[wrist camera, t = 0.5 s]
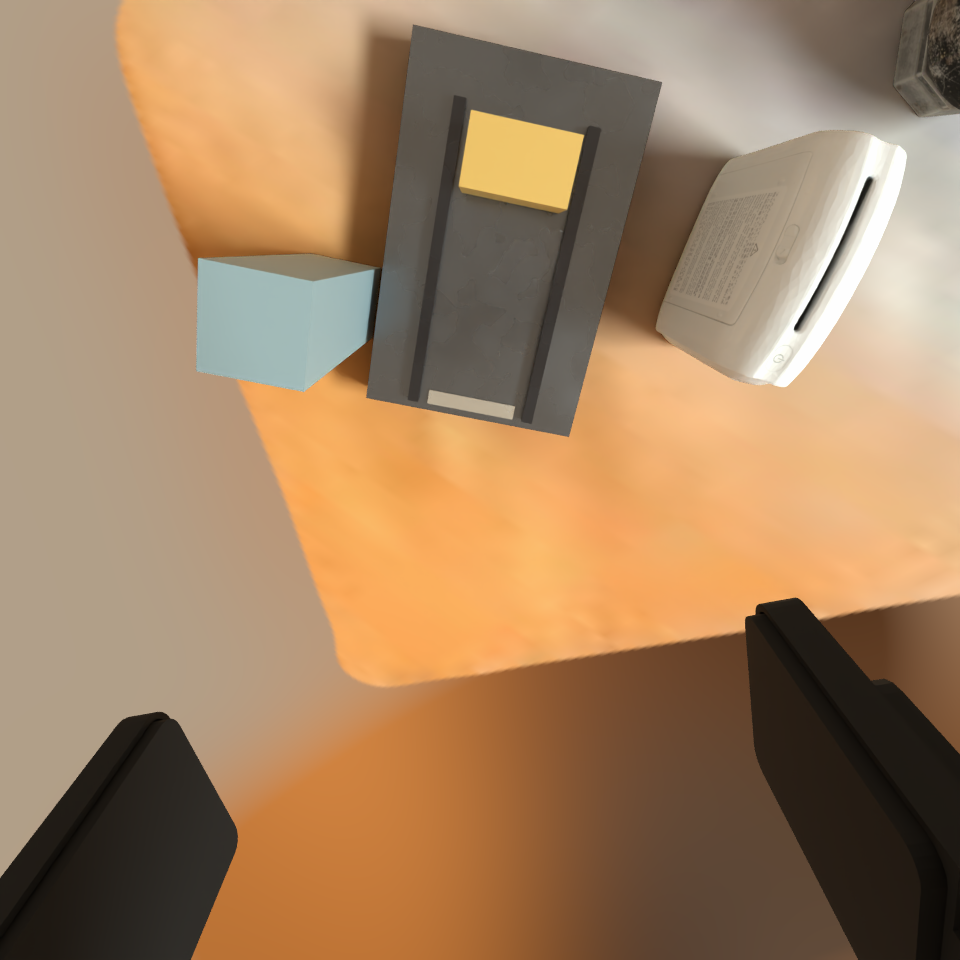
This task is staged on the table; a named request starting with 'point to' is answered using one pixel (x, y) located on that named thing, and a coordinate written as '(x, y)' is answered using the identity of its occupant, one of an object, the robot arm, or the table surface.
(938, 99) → the lantern
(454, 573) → the table surface
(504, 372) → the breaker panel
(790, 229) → the photo printer
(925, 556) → the table surface
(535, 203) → the block
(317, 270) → the post
